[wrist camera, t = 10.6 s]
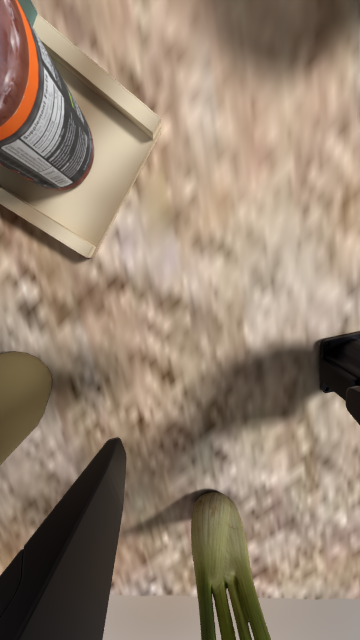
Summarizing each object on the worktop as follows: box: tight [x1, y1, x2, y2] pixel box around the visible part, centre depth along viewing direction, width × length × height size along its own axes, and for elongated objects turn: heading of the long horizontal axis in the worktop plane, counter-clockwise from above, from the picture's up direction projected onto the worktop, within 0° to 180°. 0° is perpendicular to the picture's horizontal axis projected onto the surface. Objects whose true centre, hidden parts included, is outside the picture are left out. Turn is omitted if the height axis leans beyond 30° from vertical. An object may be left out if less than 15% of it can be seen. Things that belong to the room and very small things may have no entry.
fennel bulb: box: [191, 492, 271, 640], centre depth 22 cm, size 6×5×12 cm
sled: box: [0, 0, 161, 258], centre depth 13 cm, size 11×11×7 cm
